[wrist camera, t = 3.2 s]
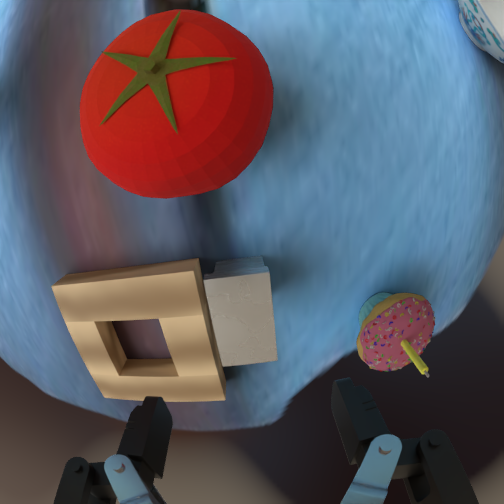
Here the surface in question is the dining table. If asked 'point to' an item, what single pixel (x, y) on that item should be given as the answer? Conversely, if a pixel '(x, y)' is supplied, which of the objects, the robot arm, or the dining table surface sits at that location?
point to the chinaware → (484, 24)
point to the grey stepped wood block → (242, 311)
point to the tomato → (176, 105)
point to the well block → (137, 308)
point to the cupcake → (395, 331)
